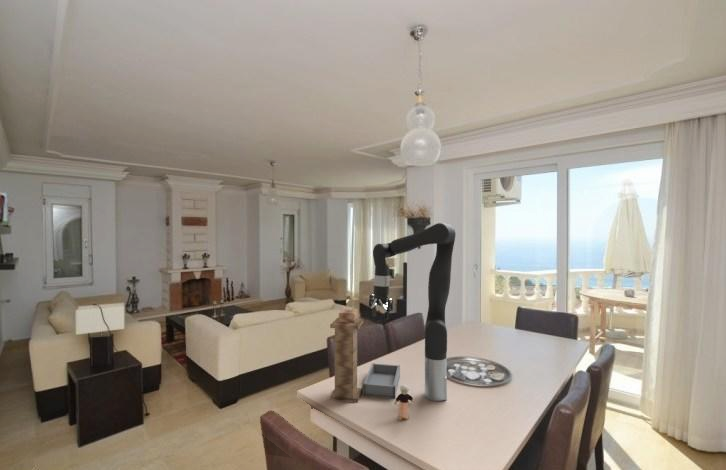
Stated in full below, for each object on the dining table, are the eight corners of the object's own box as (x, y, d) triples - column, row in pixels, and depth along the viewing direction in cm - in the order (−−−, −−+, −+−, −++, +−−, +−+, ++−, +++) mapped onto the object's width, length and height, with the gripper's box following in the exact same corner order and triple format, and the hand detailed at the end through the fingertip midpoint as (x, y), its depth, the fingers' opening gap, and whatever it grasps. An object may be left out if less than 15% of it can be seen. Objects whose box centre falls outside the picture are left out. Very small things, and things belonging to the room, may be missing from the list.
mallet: (361, 314, 161) (361, 305, 161) (354, 322, 145) (354, 313, 145) (347, 313, 163) (347, 305, 163) (338, 322, 146) (338, 312, 146)
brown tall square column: (363, 389, 152) (363, 318, 152) (357, 402, 140) (357, 325, 140) (337, 387, 154) (337, 317, 154) (330, 399, 143) (330, 324, 143)
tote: (399, 375, 167) (399, 365, 167) (395, 398, 144) (395, 386, 144) (372, 373, 170) (372, 363, 170) (363, 395, 146) (363, 383, 146)
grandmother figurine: (396, 422, 126) (396, 388, 126) (393, 416, 129) (393, 383, 129) (415, 419, 128) (415, 385, 128) (411, 413, 131) (411, 381, 131)
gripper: (397, 286, 160) (396, 320, 160) (376, 282, 171) (375, 314, 171) (386, 287, 155) (384, 322, 155) (366, 283, 166) (364, 315, 166)
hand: (380, 317), depth 163 cm, fingers open, 8 cm apart
